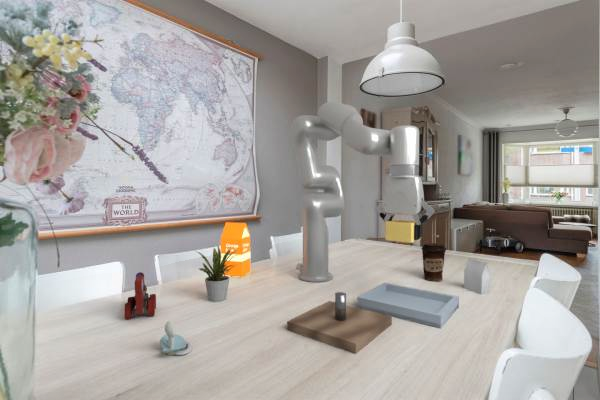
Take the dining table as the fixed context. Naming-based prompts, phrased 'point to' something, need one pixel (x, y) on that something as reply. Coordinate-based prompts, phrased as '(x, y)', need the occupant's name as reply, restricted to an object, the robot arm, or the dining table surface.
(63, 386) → the dining table surface
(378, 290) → the tray
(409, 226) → the collar
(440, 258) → the coffee cup
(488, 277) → the grey house shaped block
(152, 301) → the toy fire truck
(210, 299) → the house plant
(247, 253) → the orange juice
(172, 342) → the pacifier
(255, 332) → the dining table surface
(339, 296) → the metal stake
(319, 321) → the board
